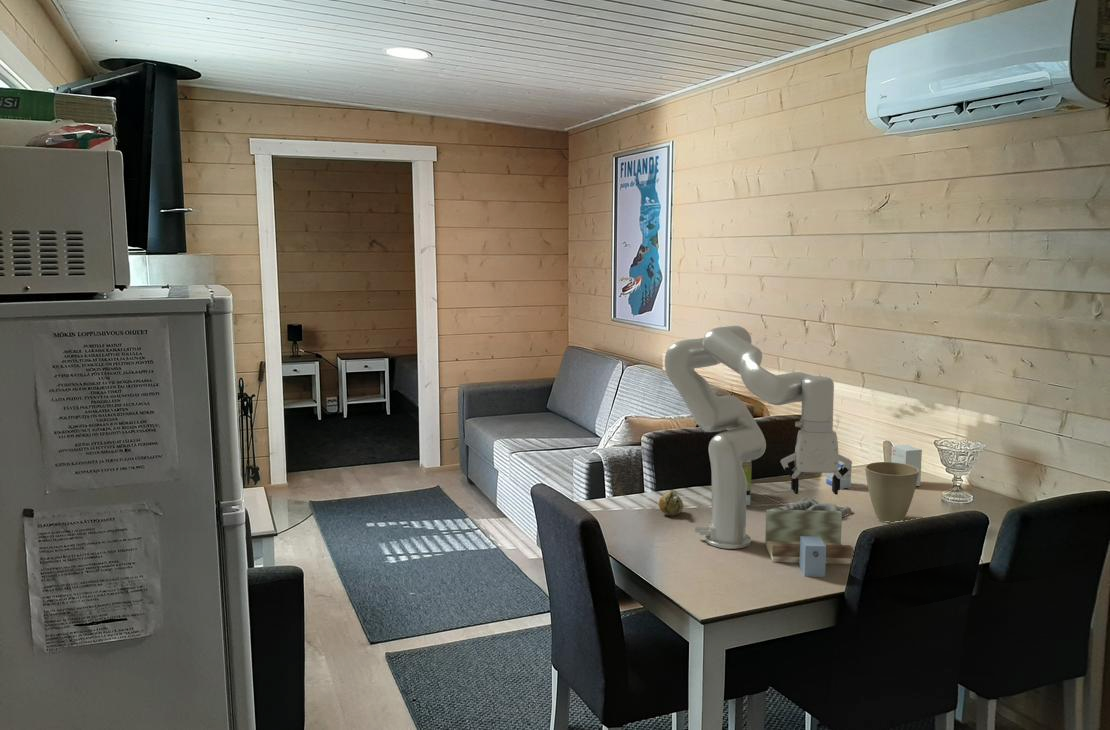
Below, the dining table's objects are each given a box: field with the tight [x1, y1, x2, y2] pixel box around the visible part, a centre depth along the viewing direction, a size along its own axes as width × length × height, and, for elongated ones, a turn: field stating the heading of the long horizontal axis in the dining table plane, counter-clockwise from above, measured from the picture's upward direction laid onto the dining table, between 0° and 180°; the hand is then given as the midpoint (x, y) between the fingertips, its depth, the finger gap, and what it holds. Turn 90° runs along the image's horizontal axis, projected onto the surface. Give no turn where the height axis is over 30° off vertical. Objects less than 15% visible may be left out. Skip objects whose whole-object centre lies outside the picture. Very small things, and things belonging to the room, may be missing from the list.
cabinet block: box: [799, 536, 827, 578], centre depth 209 cm, size 5×8×8 cm, turn 174°
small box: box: [890, 444, 923, 487], centre depth 283 cm, size 8×6×13 cm
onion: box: [658, 490, 684, 516], centre depth 255 cm, size 8×8×8 cm
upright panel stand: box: [764, 509, 853, 565], centre depth 221 cm, size 20×13×10 cm, turn 84°
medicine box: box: [825, 460, 853, 490], centre depth 283 cm, size 8×4×9 cm, turn 17°
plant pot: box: [864, 461, 919, 524], centre depth 247 cm, size 15×15×16 cm
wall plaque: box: [769, 496, 853, 518], centre depth 252 cm, size 24×19×4 cm
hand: (815, 492), depth 207 cm, fingers open, 9 cm apart
